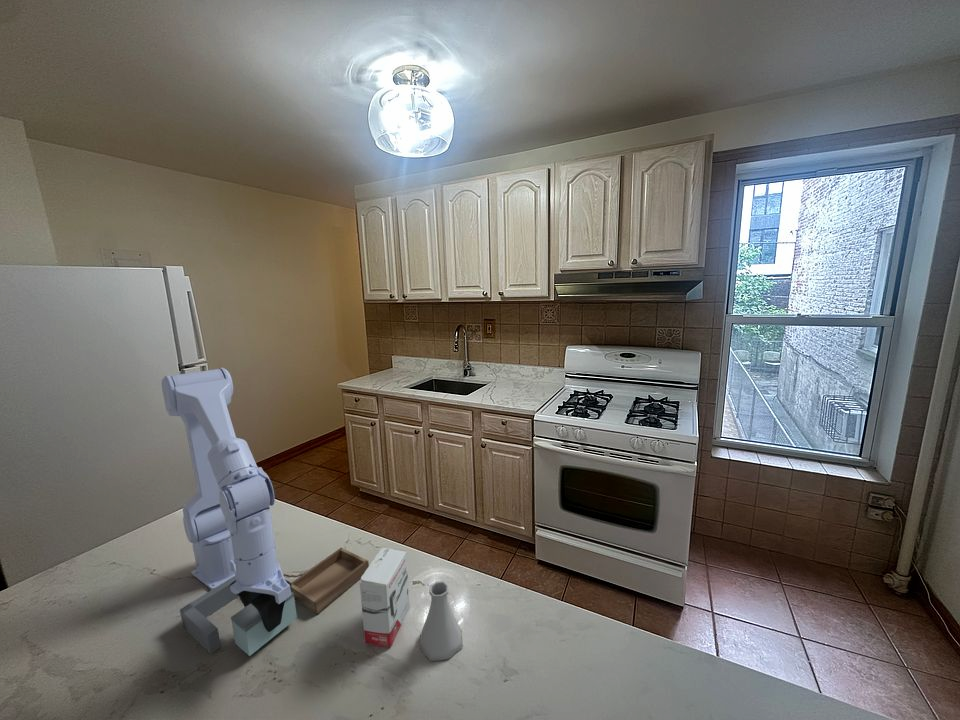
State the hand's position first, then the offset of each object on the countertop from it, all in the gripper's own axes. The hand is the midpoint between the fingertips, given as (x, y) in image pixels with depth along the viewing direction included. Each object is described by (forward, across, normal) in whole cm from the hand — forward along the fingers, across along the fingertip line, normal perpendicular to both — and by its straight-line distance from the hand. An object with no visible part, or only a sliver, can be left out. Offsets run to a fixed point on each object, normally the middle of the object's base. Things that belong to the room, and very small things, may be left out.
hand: (265, 620), depth 62 cm
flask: (+3, +26, +14) cm, 30 cm away
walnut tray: (+3, -1, +13) cm, 13 cm away
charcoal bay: (+3, -10, 0) cm, 11 cm away
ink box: (+3, +16, +12) cm, 21 cm away
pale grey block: (+2, 0, 0) cm, 2 cm away
